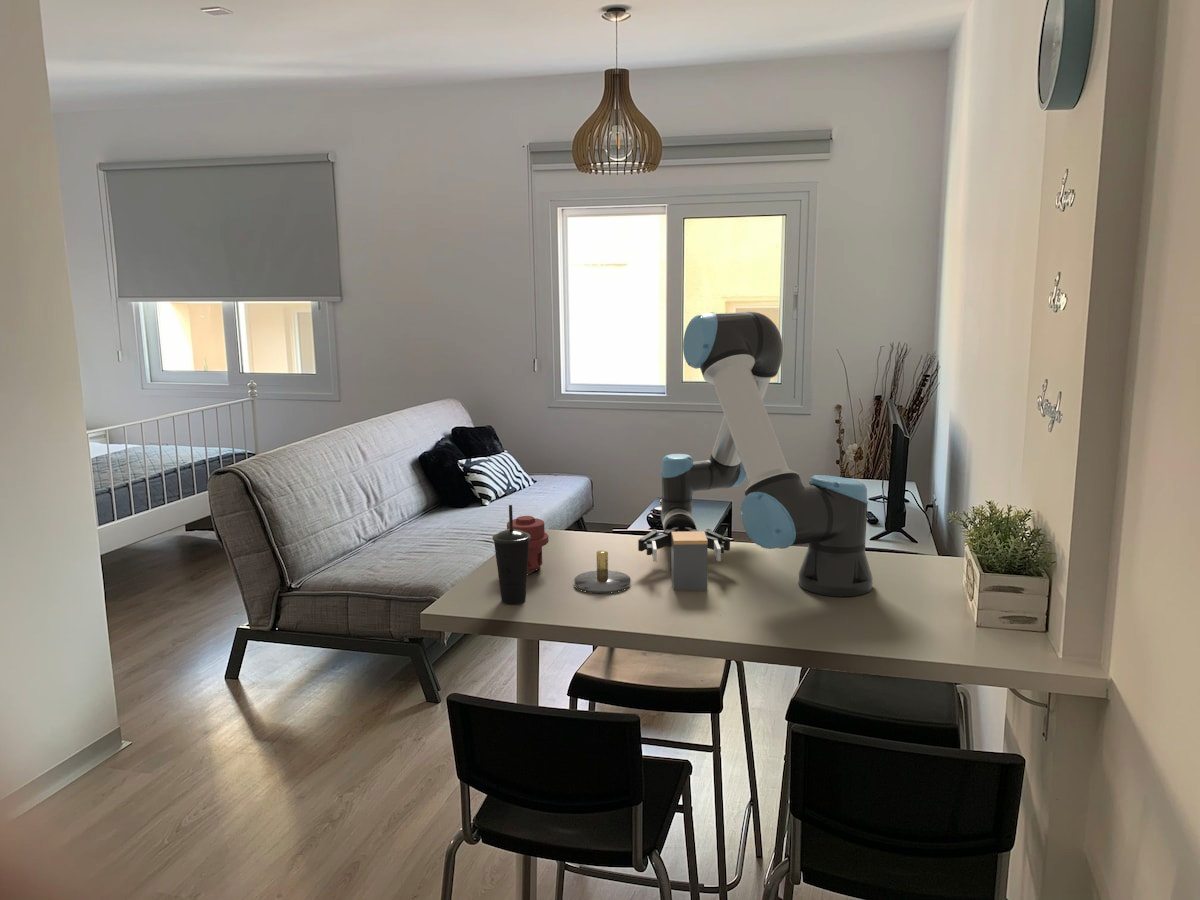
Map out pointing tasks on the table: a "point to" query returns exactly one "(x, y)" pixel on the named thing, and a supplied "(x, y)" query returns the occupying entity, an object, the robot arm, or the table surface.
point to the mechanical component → (532, 539)
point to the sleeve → (689, 560)
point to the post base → (602, 585)
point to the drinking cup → (512, 562)
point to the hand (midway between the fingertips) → (687, 555)
